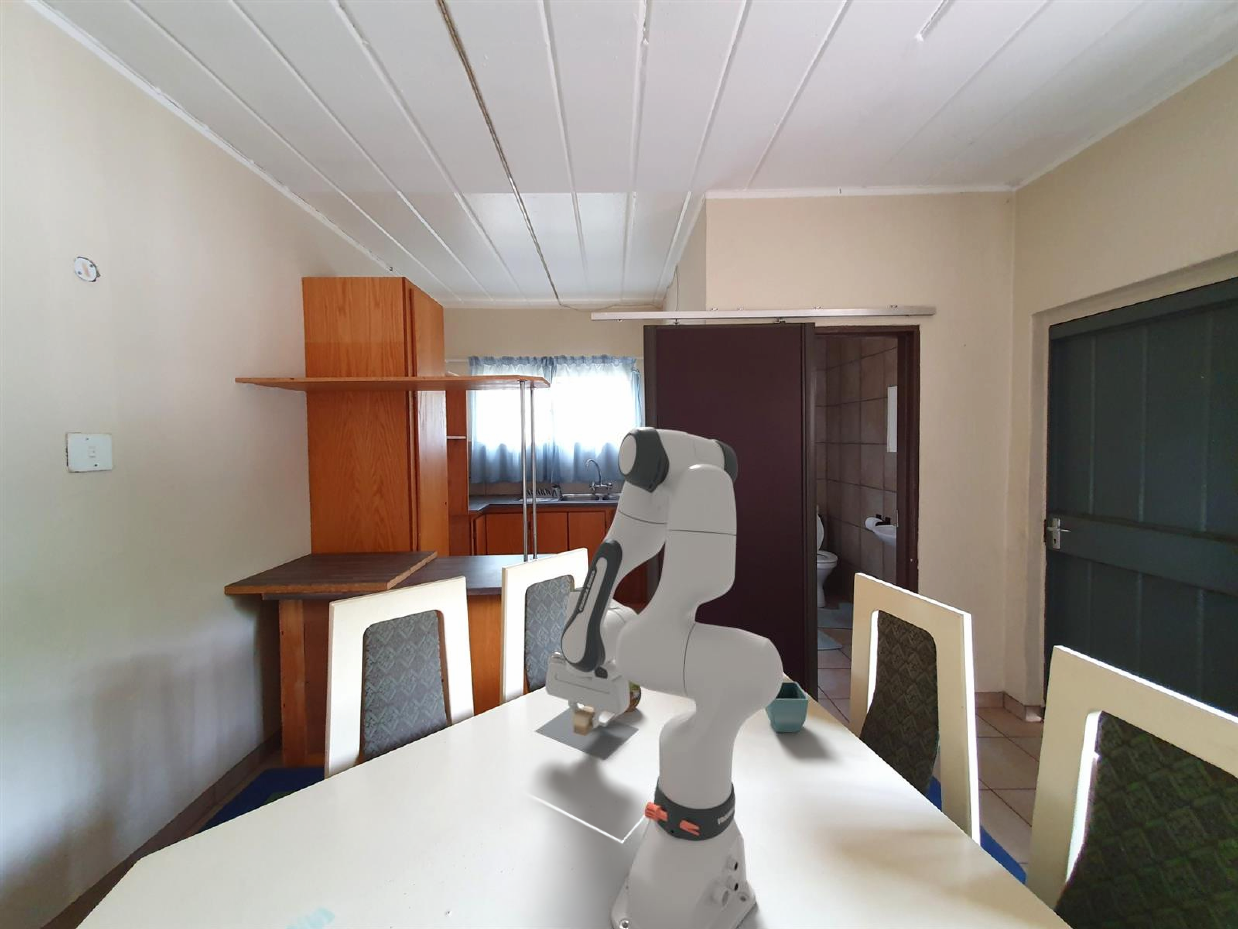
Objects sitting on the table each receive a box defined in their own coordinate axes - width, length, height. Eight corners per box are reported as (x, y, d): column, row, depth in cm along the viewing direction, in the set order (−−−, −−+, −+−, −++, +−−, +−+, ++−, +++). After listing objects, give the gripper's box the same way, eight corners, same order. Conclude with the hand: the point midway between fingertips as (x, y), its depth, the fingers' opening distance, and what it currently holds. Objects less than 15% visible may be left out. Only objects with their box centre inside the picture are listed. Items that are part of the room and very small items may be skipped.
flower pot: (809, 738, 113) (809, 699, 113) (770, 738, 114) (770, 699, 113) (796, 717, 122) (796, 681, 122) (760, 717, 122) (760, 681, 122)
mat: (604, 762, 105) (604, 760, 105) (534, 732, 116) (534, 731, 116) (639, 730, 117) (639, 729, 117) (572, 707, 128) (572, 705, 128)
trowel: (591, 738, 105) (591, 719, 105) (568, 730, 108) (568, 712, 108) (622, 711, 117) (623, 694, 117) (601, 705, 120) (601, 688, 120)
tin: (583, 719, 121) (584, 684, 121) (580, 713, 124) (581, 679, 124) (641, 711, 126) (642, 677, 126) (637, 705, 129) (638, 672, 129)
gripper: (539, 655, 111) (539, 717, 111) (618, 674, 101) (618, 743, 101) (557, 646, 117) (556, 705, 117) (633, 664, 107) (633, 729, 106)
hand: (585, 723), depth 109 cm, fingers closed on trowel, 3 cm apart
